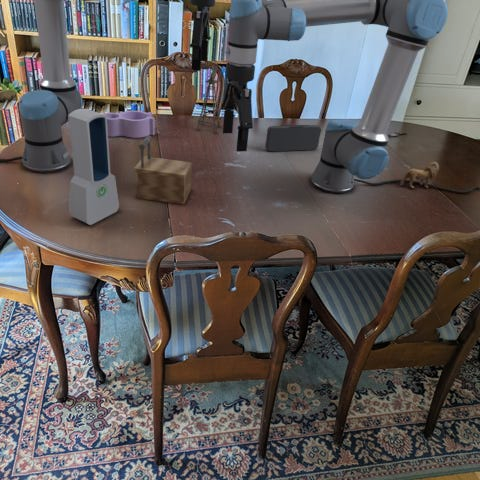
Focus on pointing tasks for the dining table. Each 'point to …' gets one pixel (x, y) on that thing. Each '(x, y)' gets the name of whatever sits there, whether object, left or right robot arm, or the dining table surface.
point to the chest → (164, 187)
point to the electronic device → (91, 168)
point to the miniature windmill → (212, 82)
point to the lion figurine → (421, 174)
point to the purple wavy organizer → (130, 124)
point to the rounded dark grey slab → (292, 137)
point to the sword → (394, 134)
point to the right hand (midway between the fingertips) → (234, 141)
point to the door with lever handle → (160, 164)
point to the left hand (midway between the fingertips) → (199, 65)
